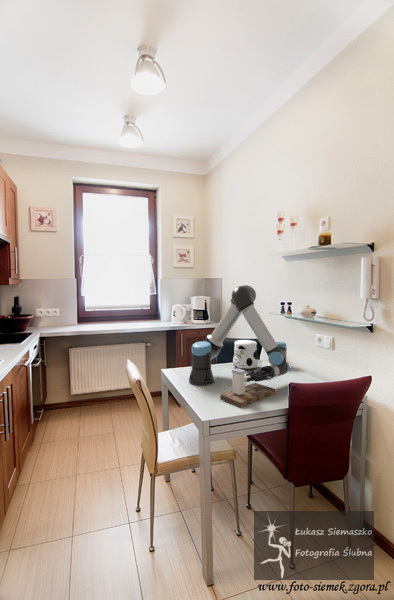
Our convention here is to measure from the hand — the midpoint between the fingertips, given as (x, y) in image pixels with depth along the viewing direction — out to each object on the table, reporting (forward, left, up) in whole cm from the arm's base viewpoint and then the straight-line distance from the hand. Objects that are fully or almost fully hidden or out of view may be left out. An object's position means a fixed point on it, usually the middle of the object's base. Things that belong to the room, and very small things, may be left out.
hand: (241, 380), depth 166 cm
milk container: (-4, +56, -9) cm, 57 cm away
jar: (+15, +65, -9) cm, 68 cm away
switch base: (+3, +2, -9) cm, 10 cm away
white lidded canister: (-1, -2, -6) cm, 6 cm away
